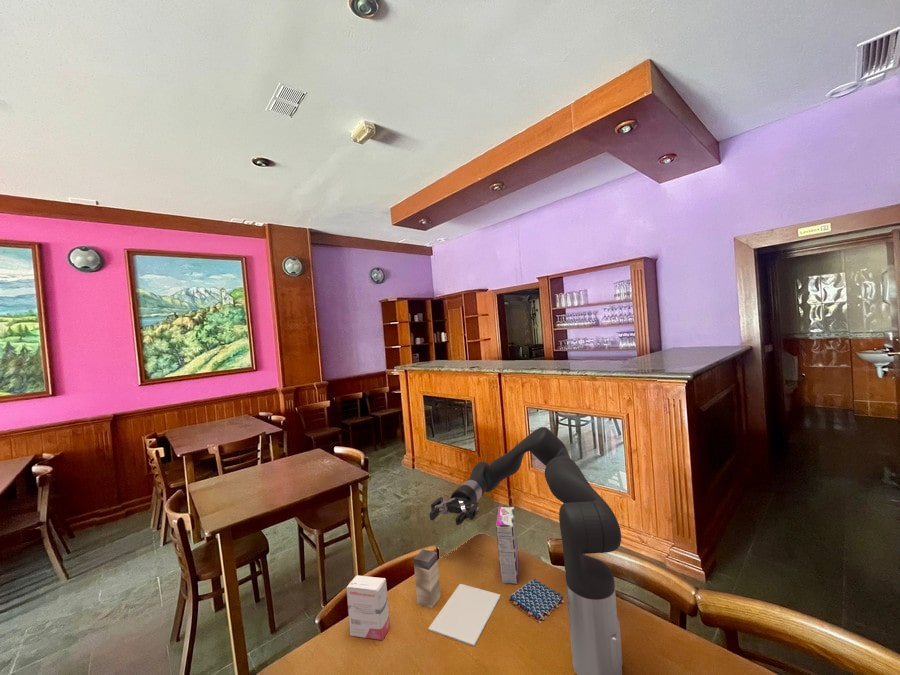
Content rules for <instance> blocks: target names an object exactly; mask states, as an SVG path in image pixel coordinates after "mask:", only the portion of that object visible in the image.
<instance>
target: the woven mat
mask: <svg viewBox="0 0 900 675" xmlns="http://www.w3.org/2000/svg"><path fill="white" fill-rule="evenodd" d="M508 601H509V602H510V604H512V605H513V607H517V609H519V610H520V611H522V612H524V613H525V614H526V615H527V616H528V617H531V618H532V619H533V620H534V621H536V622H538V623H539V624H541V623H542V621H543V620H545V619H547V618H548V616H550V615H551V613H553V611H555V609H558V608H559V607H561V606H562V605H561V604H564V603H565V601H564V596H563V595H562V596H561V593H560V592H559V593H558V592H556V590H555V589H551V587H550V586H549V587H548V586H546V584H545V583H542V582H541V581H538V580H537V579H536V578H533V579H532V580H529V582H528V583H525V584H524V585H522V586H521V588H518V589H517V590H516V591H514V593H512V594H510V596H509V599H508ZM560 603H561V604H560ZM541 620H542V621H541Z"/></svg>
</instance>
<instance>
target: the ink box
mask: <svg viewBox="0 0 900 675" xmlns="http://www.w3.org/2000/svg"><path fill="white" fill-rule="evenodd" d="M387 587H388V586H387V578H385V577H374V576H366V575H355V576H354V577H353V579H352V580H350V582H349V583H348V585H347V586H346V600H347V612H348V613H347V614H348V624H349V635H350V636H351V637H358V638H359V637H360V638H366V639H372V640H378V641H382V640H384V638H385V637H386V635H387V633H388V632H389V629H390V627H391V621H390V620H391V619H390V611H389V609H390V608H389V598H388V589H387Z"/></svg>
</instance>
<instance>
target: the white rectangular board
mask: <svg viewBox="0 0 900 675" xmlns="http://www.w3.org/2000/svg"><path fill="white" fill-rule="evenodd" d="M501 596H502V594H499V593H496V592H492V591H489V590H486V589H485V590H484V589H481V588H478V587H474V586H470V585H467V584H463V583H460V584H459V585H458V586H457V587H456V589H455V590H454V592H453V593H452V594H451V596H450V597H449V598H448V600H446V603H445V604H444V606H443V607H442V608H441V609H440V611H439V613H437V615H436V617H435V618H434V619H433V621H432V623H430V625H429V627H427V628H428V631H430V632H432V633H436V634H438V635H441V636H443V637H447V638H449V639H452V640H455V641H458V642H460V643H463V644H466V645H469V646H471V647H476V644H477V642H478V640H479V639H480V637H481V635H482V633H483V631H484V630H485V628H486V625H487V623H488V621H489V619H490V617H491V616H492V614H493V612H494V610H495V608H496V607H497V604H498V603H499V601H500V598H501Z"/></svg>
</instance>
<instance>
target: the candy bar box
mask: <svg viewBox="0 0 900 675" xmlns="http://www.w3.org/2000/svg"><path fill="white" fill-rule="evenodd" d="M495 529H496V540H497V549H498V559H499V561H498V562H499V571H500V572H499V573H500V582H501V584H505V585H507V584H508V585H509V584H510V585H518V584H519V567H520V566H519V564H520V562H519V561H520V558H519V549H518V548H519V547H518V536H517V527H516V516H515V507H514V506H498V510H497V517H496V524H495ZM517 550H518V551H517Z"/></svg>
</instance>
